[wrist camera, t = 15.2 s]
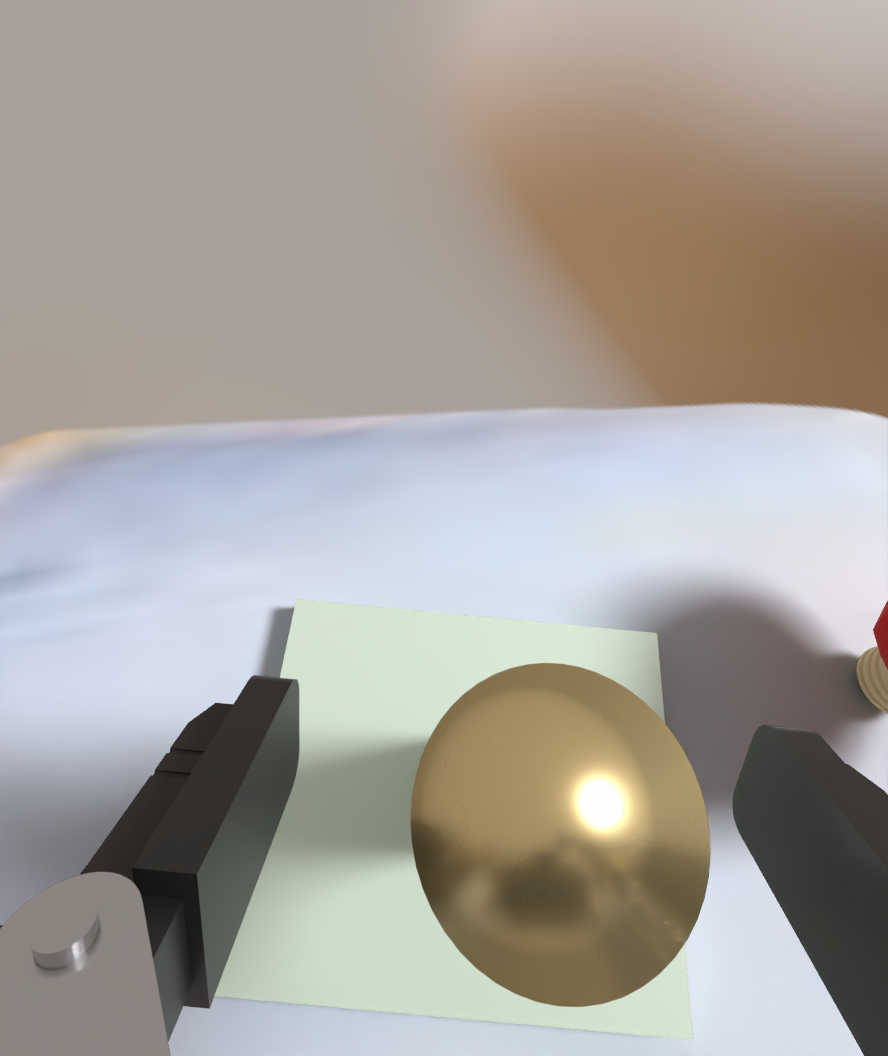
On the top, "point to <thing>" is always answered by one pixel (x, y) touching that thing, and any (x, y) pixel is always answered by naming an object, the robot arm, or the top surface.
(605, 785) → the key peg
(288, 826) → the sage mat
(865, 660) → the red rounded lobed piece
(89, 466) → the top surface
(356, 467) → the top surface
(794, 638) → the top surface
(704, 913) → the top surface
